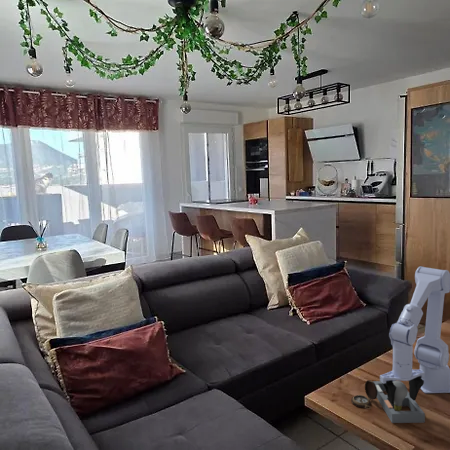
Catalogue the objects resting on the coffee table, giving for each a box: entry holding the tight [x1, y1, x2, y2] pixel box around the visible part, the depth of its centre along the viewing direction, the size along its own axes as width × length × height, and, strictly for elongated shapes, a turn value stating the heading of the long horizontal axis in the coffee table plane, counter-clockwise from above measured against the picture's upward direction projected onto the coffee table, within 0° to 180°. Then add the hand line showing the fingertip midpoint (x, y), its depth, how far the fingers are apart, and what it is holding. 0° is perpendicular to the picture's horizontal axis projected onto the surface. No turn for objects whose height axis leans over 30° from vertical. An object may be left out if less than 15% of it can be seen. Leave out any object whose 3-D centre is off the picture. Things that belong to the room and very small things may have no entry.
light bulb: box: [393, 380, 409, 411], centre depth 125 cm, size 6×6×10 cm
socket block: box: [372, 380, 426, 424], centre depth 129 cm, size 10×19×3 cm, turn 177°
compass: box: [351, 379, 377, 410], centre depth 130 cm, size 8×8×7 cm
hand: (401, 400), depth 124 cm, fingers open, 7 cm apart
